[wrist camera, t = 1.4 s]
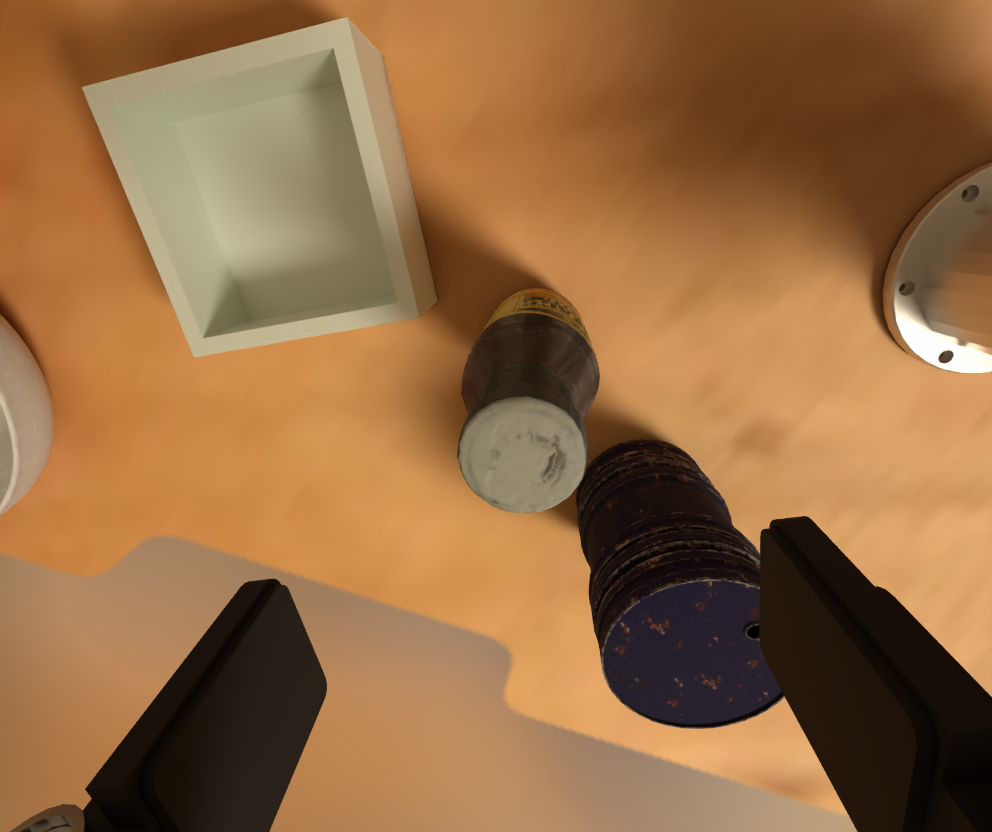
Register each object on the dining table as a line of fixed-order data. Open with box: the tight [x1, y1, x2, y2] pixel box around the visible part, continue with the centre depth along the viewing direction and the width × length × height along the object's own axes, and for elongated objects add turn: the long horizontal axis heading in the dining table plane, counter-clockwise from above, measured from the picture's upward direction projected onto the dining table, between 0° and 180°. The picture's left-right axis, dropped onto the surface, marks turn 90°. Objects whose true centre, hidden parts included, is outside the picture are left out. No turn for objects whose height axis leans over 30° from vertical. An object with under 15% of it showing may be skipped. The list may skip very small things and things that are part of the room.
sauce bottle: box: [457, 288, 600, 513], centre depth 24 cm, size 6×6×20 cm
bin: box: [82, 17, 438, 357], centre depth 29 cm, size 14×14×6 cm
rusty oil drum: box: [576, 439, 785, 729], centre depth 31 cm, size 10×10×15 cm
